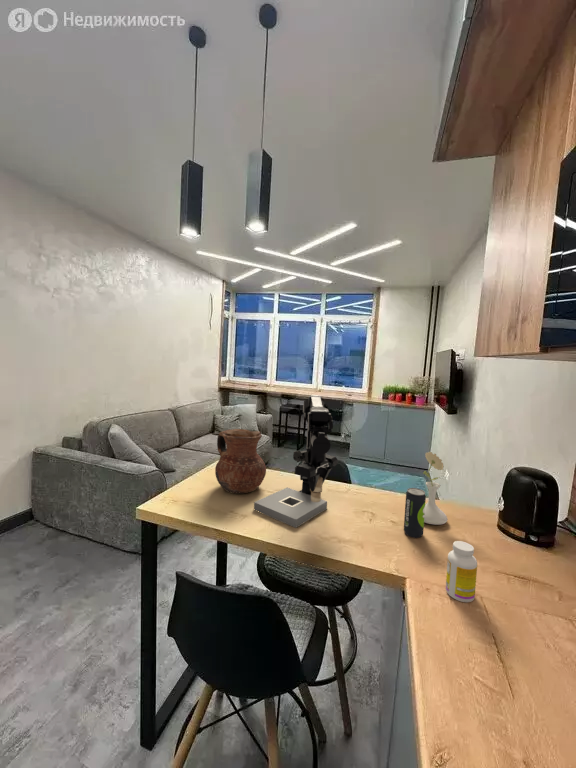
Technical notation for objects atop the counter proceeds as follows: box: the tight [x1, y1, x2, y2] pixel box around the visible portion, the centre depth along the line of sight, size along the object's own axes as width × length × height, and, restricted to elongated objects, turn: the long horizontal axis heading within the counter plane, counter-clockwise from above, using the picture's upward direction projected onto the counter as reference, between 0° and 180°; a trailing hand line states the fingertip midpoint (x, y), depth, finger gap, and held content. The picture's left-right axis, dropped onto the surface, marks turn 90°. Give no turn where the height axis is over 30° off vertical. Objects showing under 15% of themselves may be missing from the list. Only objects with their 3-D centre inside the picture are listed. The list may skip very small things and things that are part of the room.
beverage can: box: [403, 487, 427, 539], centre depth 114 cm, size 6×6×15 cm
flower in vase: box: [422, 451, 448, 526], centre depth 125 cm, size 13×11×25 cm
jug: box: [214, 428, 267, 494], centre depth 148 cm, size 22×21×25 cm
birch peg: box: [310, 476, 323, 502], centre depth 118 cm, size 4×4×8 cm
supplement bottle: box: [445, 540, 478, 603], centre depth 85 cm, size 7×7×13 cm
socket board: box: [253, 487, 328, 529], centre depth 130 cm, size 20×20×3 cm
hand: (316, 488), depth 118 cm, fingers closed on birch peg, 4 cm apart
